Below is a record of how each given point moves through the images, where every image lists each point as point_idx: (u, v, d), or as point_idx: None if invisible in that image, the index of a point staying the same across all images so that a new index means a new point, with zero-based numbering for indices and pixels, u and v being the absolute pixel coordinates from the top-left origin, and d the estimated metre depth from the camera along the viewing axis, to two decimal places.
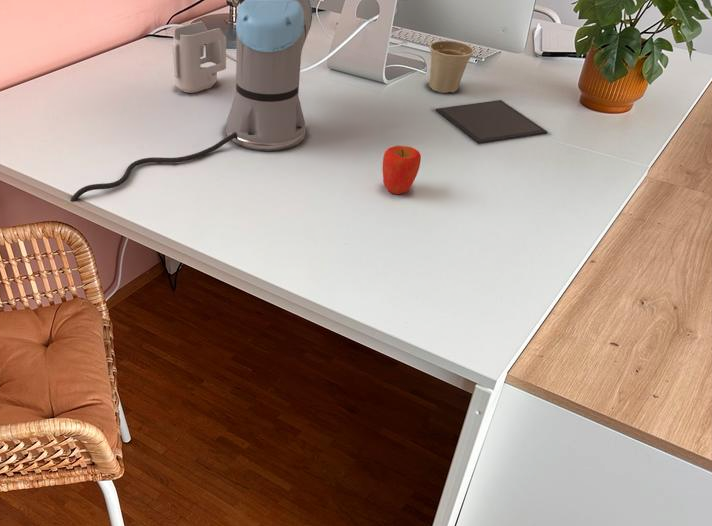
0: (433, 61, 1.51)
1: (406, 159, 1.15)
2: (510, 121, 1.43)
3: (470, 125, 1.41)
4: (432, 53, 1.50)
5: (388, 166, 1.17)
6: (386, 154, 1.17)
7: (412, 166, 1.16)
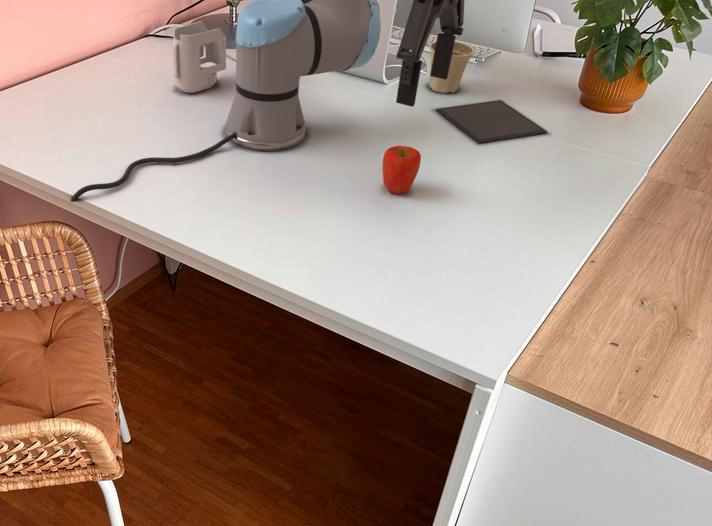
0: None
1: (406, 159, 1.15)
2: (510, 121, 1.43)
3: (470, 125, 1.41)
4: (432, 53, 1.50)
5: (388, 166, 1.17)
6: (386, 154, 1.17)
7: (412, 166, 1.16)
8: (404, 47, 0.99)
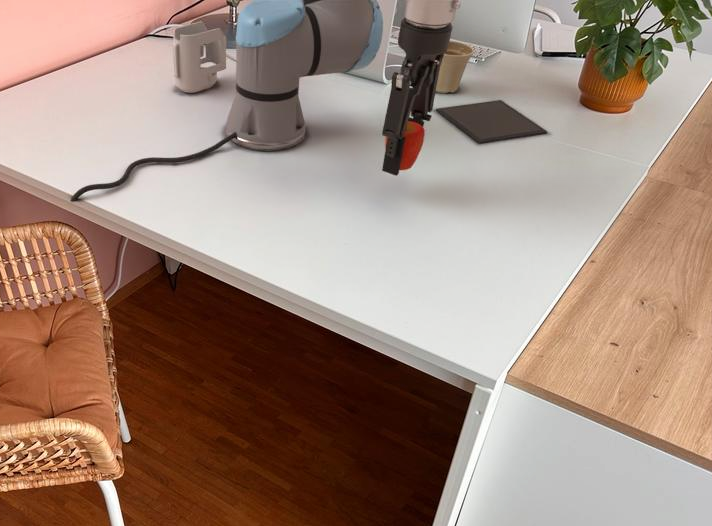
0: None
1: (409, 134, 1.13)
2: (510, 121, 1.43)
3: (470, 125, 1.41)
4: None
5: None
6: None
7: (416, 141, 1.13)
8: (387, 128, 1.09)
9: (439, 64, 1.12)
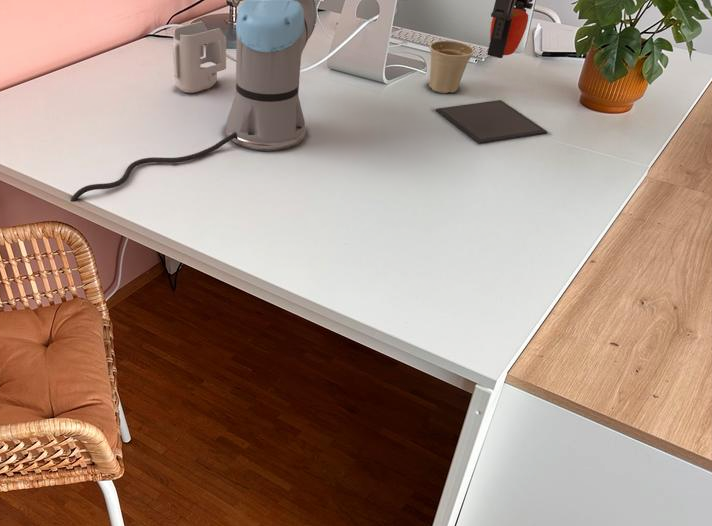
0: (433, 61, 1.51)
1: (516, 17, 1.24)
2: (510, 121, 1.43)
3: (470, 125, 1.41)
4: (432, 53, 1.50)
5: None
6: None
7: (521, 24, 1.25)
8: (498, 8, 1.21)
9: None
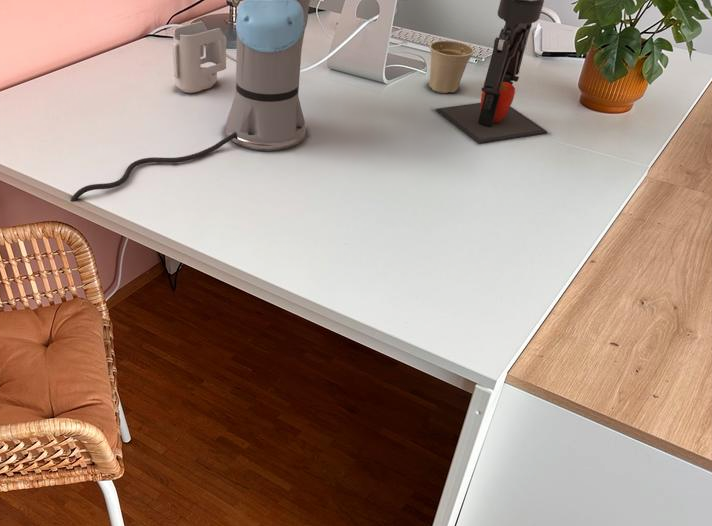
0: (433, 61, 1.51)
1: (504, 91, 1.37)
2: (510, 121, 1.43)
3: (470, 125, 1.41)
4: (432, 53, 1.50)
5: None
6: None
7: (509, 97, 1.37)
8: (487, 85, 1.33)
9: (527, 33, 1.36)
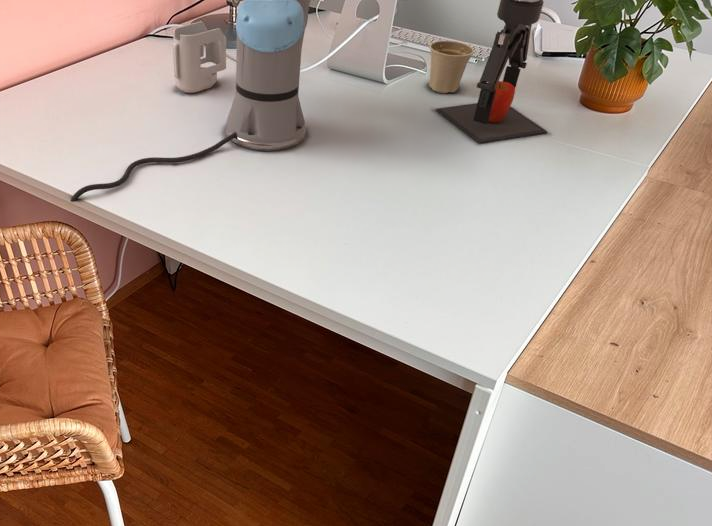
0: (433, 61, 1.51)
1: (504, 91, 1.37)
2: (510, 121, 1.43)
3: (470, 125, 1.41)
4: (432, 53, 1.50)
5: None
6: None
7: (509, 96, 1.37)
8: (484, 80, 1.30)
9: (530, 27, 1.36)
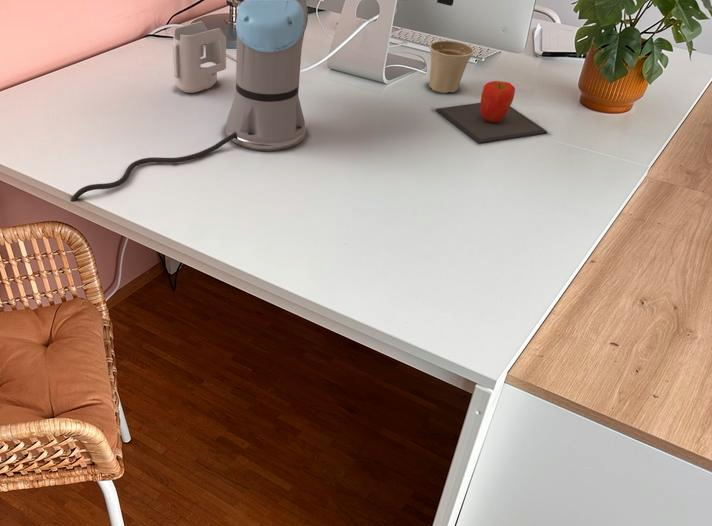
0: (433, 61, 1.51)
1: (504, 91, 1.37)
2: (510, 121, 1.43)
3: (470, 125, 1.41)
4: (432, 53, 1.50)
5: (487, 97, 1.38)
6: (486, 87, 1.38)
7: (509, 96, 1.37)
8: None
9: None
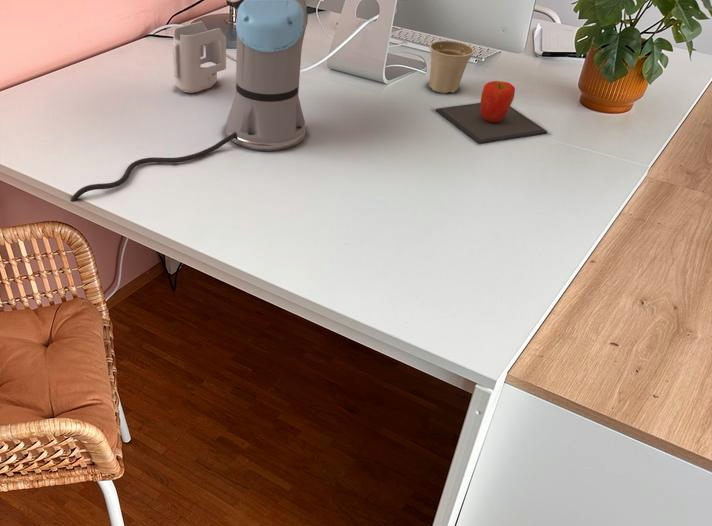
0: (433, 61, 1.51)
1: (504, 91, 1.37)
2: (510, 121, 1.43)
3: (470, 125, 1.41)
4: (432, 53, 1.50)
5: (487, 97, 1.38)
6: (486, 87, 1.38)
7: (509, 96, 1.37)
8: None
9: None
